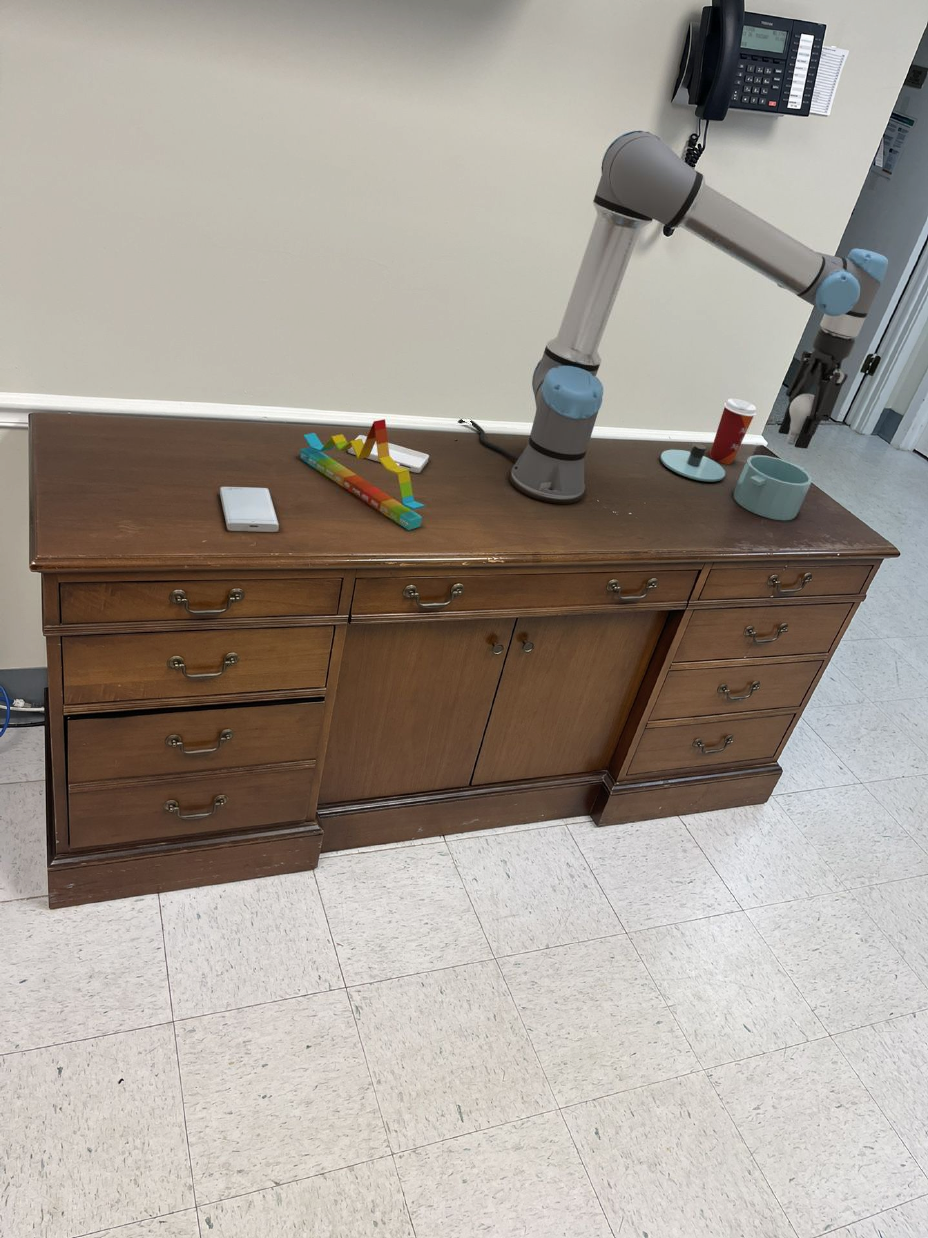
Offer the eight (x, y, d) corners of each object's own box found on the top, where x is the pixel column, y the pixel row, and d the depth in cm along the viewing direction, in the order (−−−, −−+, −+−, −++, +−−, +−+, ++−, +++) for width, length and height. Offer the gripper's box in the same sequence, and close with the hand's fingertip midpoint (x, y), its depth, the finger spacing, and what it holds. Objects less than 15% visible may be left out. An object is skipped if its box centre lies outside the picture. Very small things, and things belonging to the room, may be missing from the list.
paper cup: (737, 468, 218) (759, 413, 210) (705, 460, 218) (726, 404, 211) (735, 456, 224) (756, 402, 217) (705, 448, 225) (725, 394, 217)
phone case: (428, 460, 186) (359, 440, 187) (429, 454, 185) (360, 434, 186) (418, 474, 179) (346, 452, 181) (419, 467, 179) (347, 446, 180)
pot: (714, 497, 200) (728, 461, 196) (760, 483, 213) (774, 449, 208) (768, 527, 192) (784, 491, 188) (813, 511, 205) (829, 477, 200)
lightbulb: (774, 443, 193) (795, 393, 187) (777, 434, 198) (797, 386, 192) (804, 453, 191) (826, 403, 185) (806, 444, 197) (827, 395, 191)
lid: (646, 459, 211) (654, 436, 208) (684, 450, 221) (692, 428, 218) (699, 488, 203) (708, 465, 200) (735, 478, 212) (744, 455, 209)
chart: (298, 458, 174) (306, 383, 166) (311, 455, 176) (320, 381, 168) (407, 530, 159) (422, 451, 151) (420, 526, 162) (435, 448, 153)
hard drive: (220, 486, 156) (227, 522, 146) (268, 487, 159) (279, 523, 149) (219, 494, 157) (227, 531, 147) (268, 496, 160) (278, 532, 150)
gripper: (881, 351, 175) (831, 461, 188) (828, 319, 190) (785, 423, 203) (848, 346, 173) (799, 458, 186) (797, 315, 188) (756, 419, 201)
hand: (792, 439), depth 194 cm, fingers closed on lightbulb, 6 cm apart
